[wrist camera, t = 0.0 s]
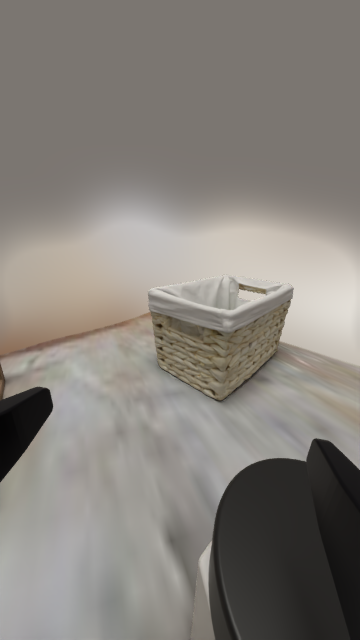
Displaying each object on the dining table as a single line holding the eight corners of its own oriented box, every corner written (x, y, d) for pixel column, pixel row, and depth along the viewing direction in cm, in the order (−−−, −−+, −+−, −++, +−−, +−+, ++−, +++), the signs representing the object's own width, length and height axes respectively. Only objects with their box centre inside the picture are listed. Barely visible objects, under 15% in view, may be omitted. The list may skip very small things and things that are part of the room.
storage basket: (219, 413, 30) (231, 311, 25) (145, 366, 41) (142, 287, 35) (283, 353, 47) (298, 284, 41) (219, 331, 57) (224, 273, 52)
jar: (337, 608, 14) (411, 484, 10) (434, 996, 7) (848, 1133, 3) (202, 556, 17) (216, 435, 12) (166, 810, 9) (171, 728, 5)
